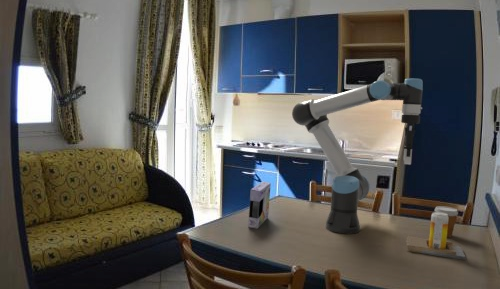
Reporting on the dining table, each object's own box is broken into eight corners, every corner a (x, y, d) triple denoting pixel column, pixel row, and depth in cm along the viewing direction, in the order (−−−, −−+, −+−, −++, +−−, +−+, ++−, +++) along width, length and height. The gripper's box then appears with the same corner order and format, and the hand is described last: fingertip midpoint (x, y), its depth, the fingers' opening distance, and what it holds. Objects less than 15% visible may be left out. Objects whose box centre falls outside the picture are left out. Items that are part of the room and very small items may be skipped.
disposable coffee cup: (458, 239, 169) (461, 212, 168) (435, 237, 171) (437, 210, 170) (452, 232, 178) (454, 207, 177) (429, 230, 180) (432, 205, 179)
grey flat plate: (421, 253, 150) (422, 250, 150) (420, 243, 161) (420, 240, 161) (465, 260, 145) (465, 256, 145) (460, 249, 156) (460, 246, 156)
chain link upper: (407, 250, 152) (407, 244, 152) (406, 241, 163) (407, 236, 163) (455, 258, 146) (456, 252, 146) (451, 248, 157) (451, 242, 157)
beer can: (445, 249, 155) (448, 213, 154) (445, 254, 150) (449, 216, 148) (428, 246, 158) (431, 210, 156) (428, 251, 152) (431, 214, 151)
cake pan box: (257, 229, 170) (259, 190, 168) (246, 228, 172) (248, 188, 170) (269, 218, 188) (271, 182, 186) (259, 217, 190) (261, 181, 188)
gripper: (422, 115, 158) (417, 166, 160) (418, 114, 181) (414, 159, 183) (402, 114, 160) (398, 165, 162) (401, 113, 184) (397, 158, 186)
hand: (406, 162), depth 173 cm, fingers open, 13 cm apart
